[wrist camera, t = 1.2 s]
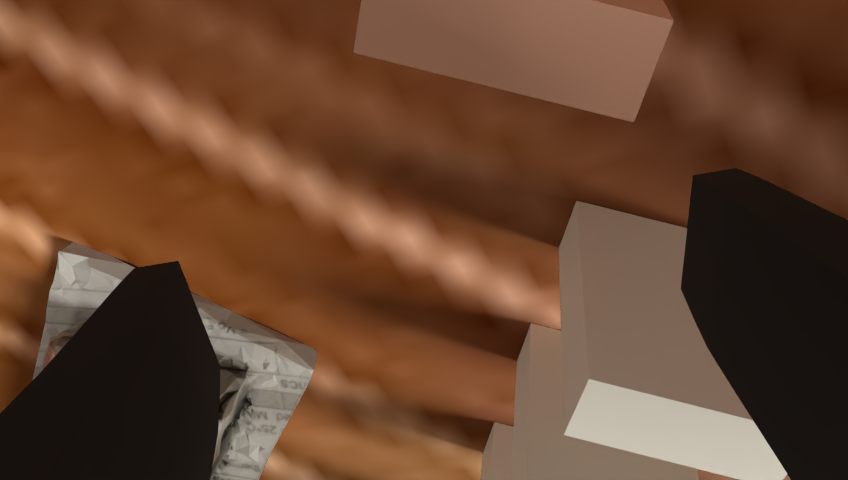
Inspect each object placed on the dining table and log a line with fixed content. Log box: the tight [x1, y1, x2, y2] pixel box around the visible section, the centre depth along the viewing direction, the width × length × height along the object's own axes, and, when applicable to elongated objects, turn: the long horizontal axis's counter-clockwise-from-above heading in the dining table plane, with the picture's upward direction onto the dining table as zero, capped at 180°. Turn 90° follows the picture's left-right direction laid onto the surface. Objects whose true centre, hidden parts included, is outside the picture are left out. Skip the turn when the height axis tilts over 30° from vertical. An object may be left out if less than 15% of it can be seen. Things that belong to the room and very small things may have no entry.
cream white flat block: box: [559, 201, 787, 480], centre depth 20 cm, size 2×5×8 cm, turn 79°
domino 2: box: [511, 323, 699, 480], centre depth 22 cm, size 2×5×8 cm, turn 79°
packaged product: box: [32, 242, 317, 480], centre depth 30 cm, size 18×5×10 cm
